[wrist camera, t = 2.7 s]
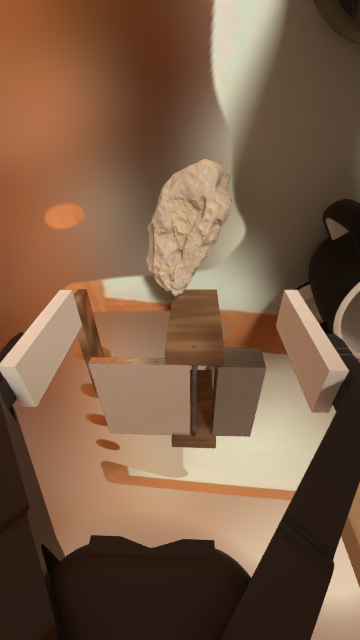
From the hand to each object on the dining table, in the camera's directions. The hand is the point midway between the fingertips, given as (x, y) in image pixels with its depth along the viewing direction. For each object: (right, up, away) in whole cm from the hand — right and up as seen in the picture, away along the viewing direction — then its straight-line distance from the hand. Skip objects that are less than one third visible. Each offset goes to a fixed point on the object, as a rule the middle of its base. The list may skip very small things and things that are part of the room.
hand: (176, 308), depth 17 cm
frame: (-4, -4, +26) cm, 26 cm away
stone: (+1, +11, +15) cm, 19 cm away
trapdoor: (0, -9, +18) cm, 20 cm away
